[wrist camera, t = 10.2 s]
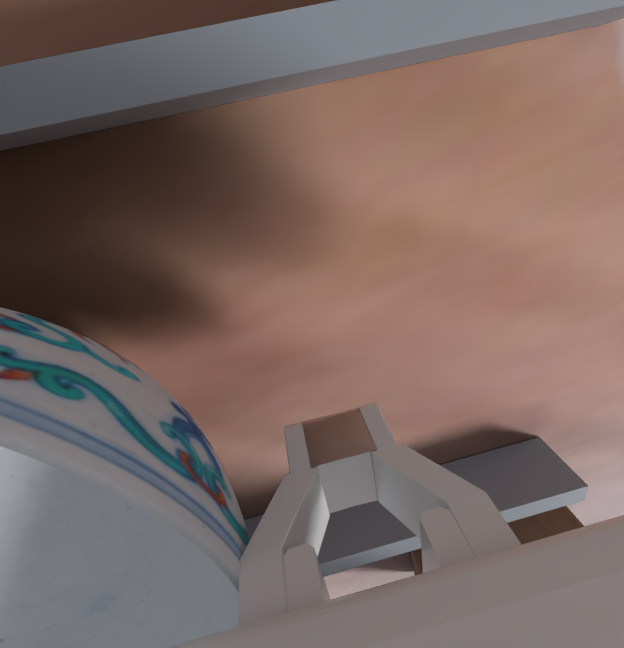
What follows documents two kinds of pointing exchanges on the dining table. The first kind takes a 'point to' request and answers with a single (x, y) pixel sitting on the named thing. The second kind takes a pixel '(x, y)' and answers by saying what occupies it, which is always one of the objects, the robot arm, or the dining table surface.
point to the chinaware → (106, 502)
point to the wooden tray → (283, 75)
